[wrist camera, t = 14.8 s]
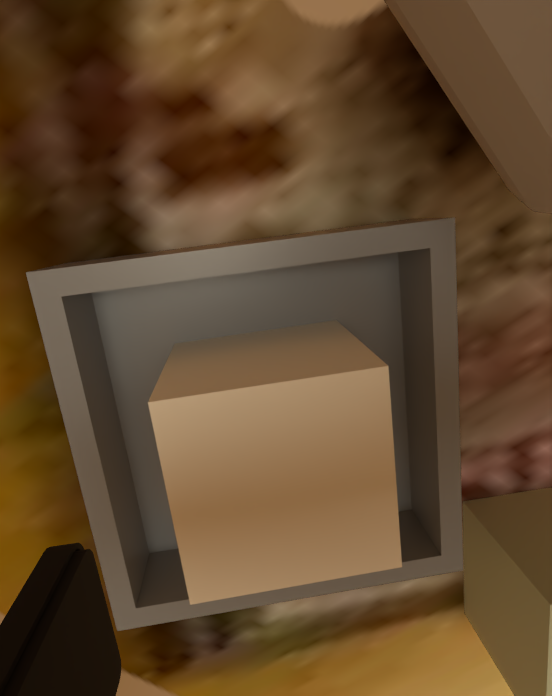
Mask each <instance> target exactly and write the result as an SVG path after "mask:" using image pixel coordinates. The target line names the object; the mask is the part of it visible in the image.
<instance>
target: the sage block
mask: <svg viewBox="0 0 552 696" xmlns="http://www.w3.org/2000/svg"><path fill="white" fill-rule="evenodd" d="M463 560H464V613H465V615H466V617H467V618H468V620H469V622H470V623H471V625H472V626H473V628H474V630H475V631H476V633H477V635H478V636H479V638H480V640H481V641H482V643H483V645H484V646H485V648H486V650H487V651H488V653H489V654H490V656H491V658H492V659H493V661H494V663H495V664H496V666H497V668H498V669H499V671H500V673H501V674H502V676H503V677H504V679H505V681H506V682H507V684H508V686H509V687H510V689H511V691H512V692H513V694H514V696H552V487H550V488H544V489H537V490H531V491H525V492H518V493H512V494H506V495H500V496H493V497H487V498H481V499H475V500H468V501H463Z"/></svg>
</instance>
